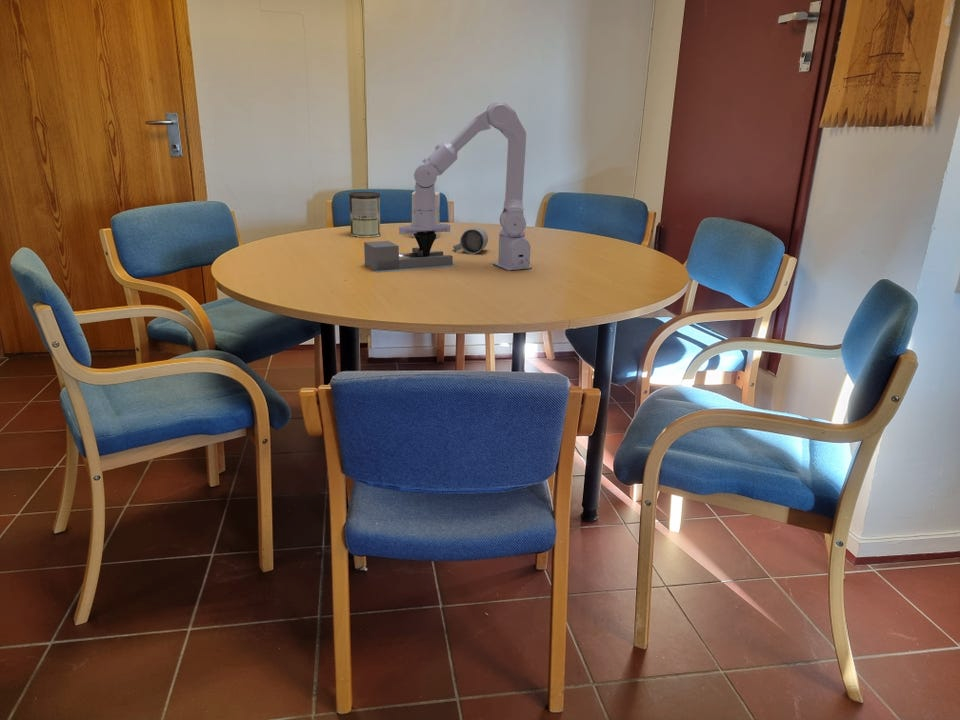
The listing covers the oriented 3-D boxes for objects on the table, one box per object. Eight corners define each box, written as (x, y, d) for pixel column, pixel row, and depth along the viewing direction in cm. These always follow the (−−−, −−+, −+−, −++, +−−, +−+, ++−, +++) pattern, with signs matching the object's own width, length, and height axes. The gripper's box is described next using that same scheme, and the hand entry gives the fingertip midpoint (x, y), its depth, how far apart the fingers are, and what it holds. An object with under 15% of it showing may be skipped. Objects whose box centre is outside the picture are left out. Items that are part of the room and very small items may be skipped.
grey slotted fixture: (458, 267, 195) (459, 243, 192) (376, 274, 184) (376, 248, 182) (441, 259, 205) (441, 236, 202) (362, 265, 194) (361, 240, 192)
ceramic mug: (488, 250, 221) (489, 225, 218) (484, 254, 213) (484, 229, 211) (456, 248, 223) (456, 224, 220) (450, 253, 215) (450, 228, 212)
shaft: (423, 264, 194) (423, 250, 193) (390, 266, 190) (390, 252, 188) (417, 261, 197) (417, 247, 196) (385, 264, 193) (385, 249, 192)
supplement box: (410, 238, 237) (410, 193, 232) (414, 233, 246) (414, 190, 241) (437, 238, 237) (437, 194, 232) (439, 234, 245) (440, 191, 240)
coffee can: (344, 234, 240) (343, 192, 235) (370, 231, 247) (369, 191, 242) (360, 238, 233) (358, 195, 228) (386, 236, 239) (385, 194, 234)
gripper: (443, 206, 198) (442, 254, 202) (394, 208, 191) (395, 257, 196) (453, 210, 192) (452, 258, 196) (404, 212, 185) (404, 262, 190)
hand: (424, 258), depth 196 cm, fingers closed
